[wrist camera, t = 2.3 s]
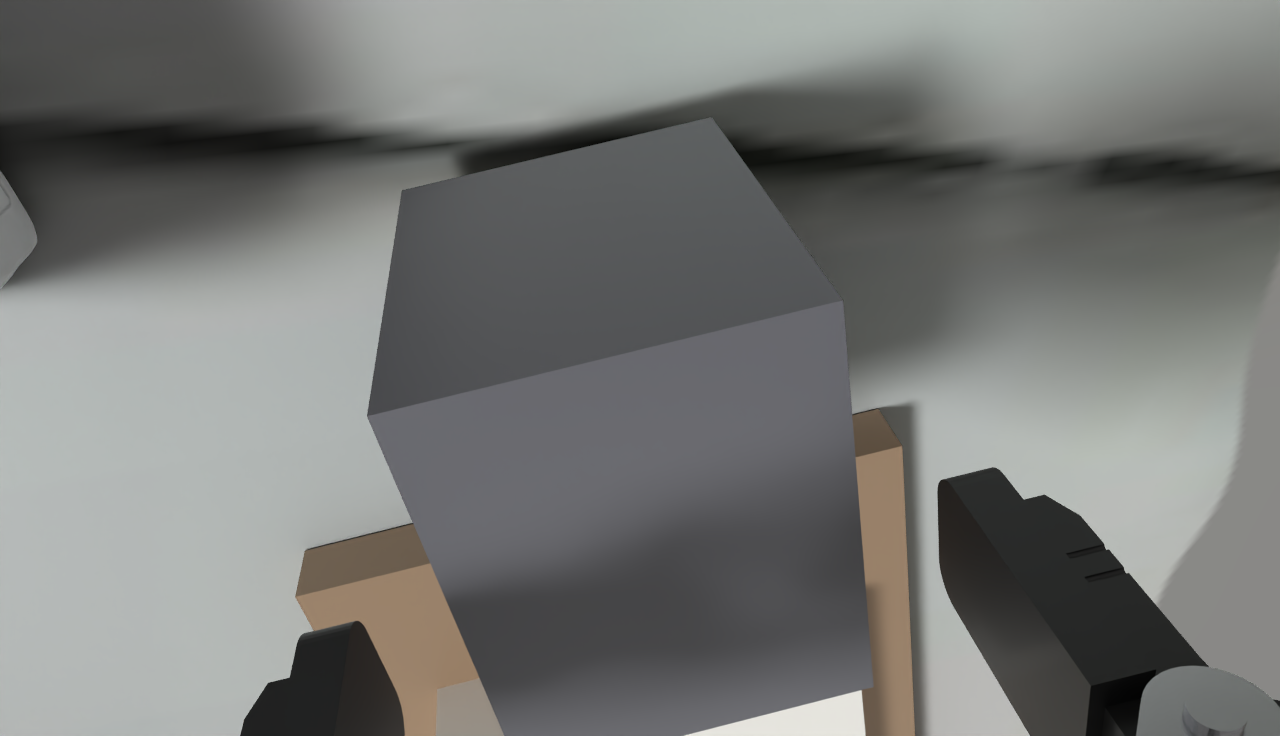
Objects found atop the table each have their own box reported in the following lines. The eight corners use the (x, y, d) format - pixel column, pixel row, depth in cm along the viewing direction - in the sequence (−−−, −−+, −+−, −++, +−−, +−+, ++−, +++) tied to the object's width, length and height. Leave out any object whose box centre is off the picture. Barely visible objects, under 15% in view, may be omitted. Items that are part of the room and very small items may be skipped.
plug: (406, 160, 18) (366, 416, 11) (694, 92, 18) (843, 300, 11) (503, 448, 22) (522, 777, 15) (741, 390, 22) (873, 686, 15)
